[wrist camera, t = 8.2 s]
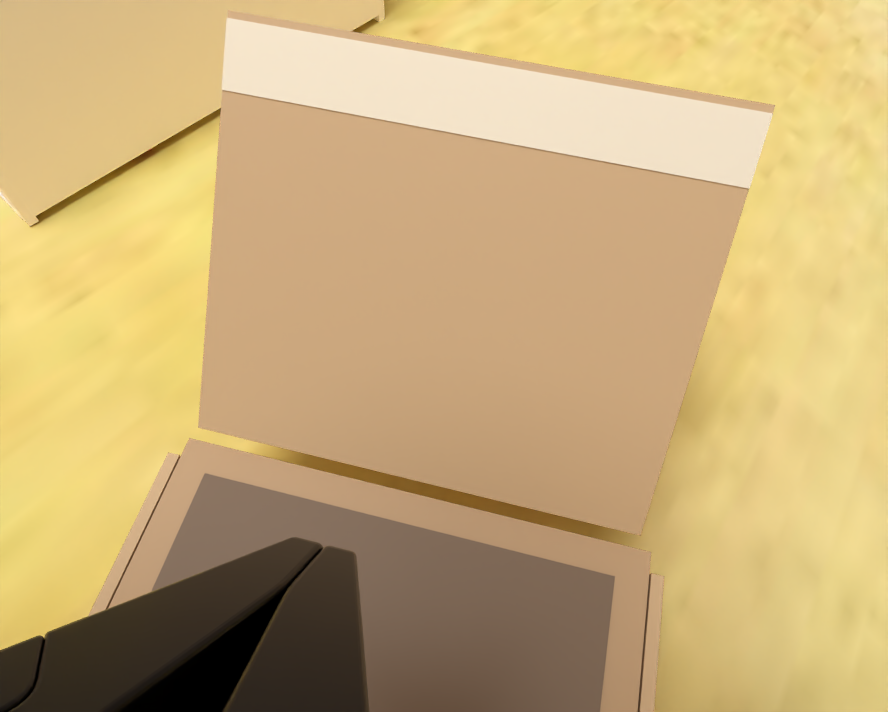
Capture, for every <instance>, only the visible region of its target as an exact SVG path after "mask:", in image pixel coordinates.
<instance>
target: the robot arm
mask: <svg viewBox="0 0 888 712" xmlns="http://www.w3.org/2000/svg"><path fill="white" fill-rule="evenodd" d="M0 712H369V700H368V688H367V676H366V664H365V652H364V640H363V627H362V615H361V603H360V591H359V579H358V567H357V556H356V554H355V553H354V552H353V551H349V550H345V549H342V548H338V547H334V546H325V547H324V548H323V546H322V544H320V543H318V542H314V541H310V540H306V539H303V538H299V537H291V538H288V539H286V540H283V541H280V542H278V543H275V544H273V545H270V546H268V547H265V548H262V549H260V550H257V551H255V552H252V553H250V554H247V555H244V556H242V557H239V558H237V559H234V560H232V561H229V562H226V563H224V564H221V565H219V566H216V567H214V568H211V569H209V570H206V571H203V572H201V573H198V574H196V575H193V576H191V577H188V578H185V579H183V580H180V581H178V582H175V583H173V584H170V585H167V586H165V587H162V588H160V589H157V590H155V591H152V592H149V593H147V594H144V595H142V596H139V597H137V598H134V599H131V600H129V601H126V602H124V603H121V604H119V605H116V606H113V607H111V608H108V609H106V610H103V611H101V612H98V613H95V614H93V615H90V616H88V617H85V618H83V619H80V620H77V621H75V622H72V623H70V624H67V625H64V626H62V627H59V628H57V629H54V630H52V631H49V632H47V633H46V635H45V638H43V637H42V636H40V635H39V636H36V637H33V638H31V639H28V640H26V641H23V642H20V643H18V644H15V645H13V646H10V647H8V648H5V649H2V650H0Z"/></svg>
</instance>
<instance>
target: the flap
mask: <svg viewBox="0 0 888 712" xmlns="http://www.w3.org/2000/svg"><path fill="white" fill-rule="evenodd" d="M774 107H775V105H771V104H765V103H759V102H753V101H748V100H742V99H736V98H730V97H725V96H719V95H713V94H708V93H702V92H696V91H690V90H685V89H679V88H673V87H667V86H662V85H656V84H650V83H644V82H639V81H633V80H627V79H621V78H616V77H610V76H604V75H598V74H593V73H587V72H581V71H575V70H570V69H564V68H558V67H552V66H547V65H541V64H535V63H529V62H524V61H518V60H512V59H507V58H501V57H495V56H489V55H484V54H478V53H472V52H466V51H461V50H455V49H449V48H443V47H438V46H432V45H426V44H420V43H415V42H409V41H403V40H397V39H392V38H386V37H380V36H374V35H369V34H363V33H357V32H351V31H346V30H340V29H334V28H329V27H323V26H317V25H311V24H306V23H300V22H294V21H288V20H283V19H277V18H271V17H265V16H260V15H254V14H248V13H242V12H237V11H231V10H228V15H227V19H226V34H225V48H224V62H223V76H222V100H221V114H220V128H219V142H218V156H217V171H216V185H215V199H214V213H213V227H212V241H211V255H210V269H209V283H208V298H207V312H206V326H205V340H204V354H203V368H202V382H201V396H200V410H199V425H198V428H202V429H206V430H210V431H214V432H219V433H223V434H227V435H231V436H235V437H239V438H243V439H247V440H251V441H255V442H259V443H264V444H268V445H272V446H276V447H280V448H284V449H288V450H292V451H296V452H300V453H304V454H309V455H313V456H317V457H321V458H325V459H329V460H333V461H337V462H341V463H345V464H349V465H354V466H358V467H362V468H366V469H370V470H374V471H378V472H382V473H386V474H390V475H394V476H399V477H403V478H407V479H411V480H415V481H419V482H423V483H427V484H431V485H435V486H439V487H444V488H448V489H452V490H456V491H460V492H464V493H468V494H472V495H476V496H480V497H484V498H489V499H493V500H497V501H501V502H505V503H509V504H513V505H517V506H521V507H525V508H529V509H534V510H538V511H542V512H546V513H550V514H554V515H558V516H562V517H566V518H570V519H574V520H579V521H583V522H587V523H591V524H595V525H599V526H603V527H607V528H611V529H615V530H619V531H624V532H628V533H632V534H636V535H640V536H641V532H642V529H643V526H644V523H645V520H646V516H647V513H648V510H649V507H650V504H651V500H652V497H653V494H654V491H655V488H656V484H657V481H658V478H659V475H660V472H661V468H662V465H663V462H664V459H665V456H666V452H667V449H668V446H669V443H670V440H671V437H672V433H673V430H674V427H675V424H676V421H677V417H678V414H679V411H680V408H681V405H682V401H683V398H684V395H685V392H686V389H687V385H688V382H689V379H690V376H691V373H692V369H693V366H694V363H695V360H696V357H697V353H698V350H699V347H700V344H701V341H702V337H703V334H704V331H705V328H706V325H707V321H708V318H709V315H710V312H711V309H712V305H713V302H714V299H715V296H716V293H717V289H718V286H719V283H720V280H721V277H722V274H723V270H724V267H725V264H726V261H727V258H728V254H729V251H730V248H731V245H732V242H733V238H734V235H735V232H736V229H737V226H738V222H739V219H740V216H741V213H742V210H743V206H744V203H745V200H746V197H747V194H748V190H749V189H750V185H751V182H752V179H753V176H754V173H755V169H756V166H757V163H758V160H759V157H760V153H761V150H762V147H763V144H764V141H765V138H766V134H767V131H768V128H769V125H770V122H771V118H772V115H773V111H774Z"/></svg>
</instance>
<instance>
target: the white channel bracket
mask: <svg viewBox="0 0 888 712" xmlns="http://www.w3.org/2000/svg"><path fill="white" fill-rule="evenodd" d="M228 10H231V11H237V12H242V13H248V14H254V15H260V16H265V17H271V18H277V19H283V20H288V21H294V22H300V23H306V24H311V25H317V26H323V27H329V28H334V29H340V30H346V31H353V30H354V29H356V28H358V27H359V26H361V25H363V24H365V23H366V22H368V21H370V20H371V19H373V18H374V19H375V20H377V21H378V22H380V21H382V20H384V19H385V11H384V0H0V197H1V198H2V199H3V200H4V201H5V202H6V203H7V204H8V205H9V206H10V207H11V208H12V209H13V210H14V211H15V212H16V213H17V214H18V215H19V216H20V217H21V219H22V220H23V221H25V222H26V223H27V224H28V225H29V226H32V225H33V224H35V223H37V222H38V221H39V220H38V219H37V218H36V216H37V215H38V214H40V213H42V212H43V211H45V210H47V209H49V208H50V207H52V206H54V205H55V204H57V203H59V202H60V201H62V200H64V199H66V198H67V197H69V196H71V195H72V194H74V193H76V192H78V191H79V190H81V189H83V188H84V187H86V186H88V185H90V184H91V183H93V182H95V181H96V180H98V179H100V178H101V177H103V176H105V175H107V174H108V173H110V172H112V171H113V170H115V169H117V168H119V167H120V166H122V165H124V164H125V163H127V162H129V161H131V160H132V159H134V158H136V157H137V156H139V155H141V154H142V153H144V152H146V151H148V150H152V149H151V148H153V147H154V146H156V145H158V144H160V143H161V142H163V141H165V140H166V139H168V138H170V137H172V136H173V135H175V134H177V133H178V132H180V131H182V130H183V129H185V128H187V127H189V126H190V125H192V124H194V123H195V122H197V121H199V120H201V119H202V118H204V117H206V116H207V115H209V114H211V113H213V112H214V111H216V110H218V109H219V108H221V100H222V76H223V62H224V48H225V34H226V19H227V15H228Z"/></svg>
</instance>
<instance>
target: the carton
mask: <svg viewBox="0 0 888 712" xmlns="http://www.w3.org/2000/svg"><path fill="white" fill-rule="evenodd" d="M291 537H299V538H303V539H306V540H310V541H314V542H318V543H320V544H322V546H323V548H324V547H325V546H334V547H338V548H342V549H345V550H349V551H353V552H354V553H355V554H356V556H357V567H358V579H359V591H360V603H361V615H362V627H363V640H364V652H365V664H366V676H367V688H368V700H369V712H654V706H655V693H656V679H657V666H658V653H659V639H660V626H661V613H662V599H663V586H664V576H661V575H657V574H653V573H651V574H650V575H649V572H650V561H651V552H649V551H645V550H641V549H637V548H633V547H629V546H625V545H621V544H617V543H613V542H608V541H604V540H600V539H596V538H592V537H588V536H584V535H580V534H576V533H572V532H568V531H564V530H560V529H556V528H552V527H548V526H544V525H540V524H535V523H531V522H527V521H523V520H519V519H515V518H511V517H507V516H503V515H499V514H495V513H491V512H487V511H483V510H479V509H475V508H471V507H467V506H462V505H458V504H454V503H450V502H446V501H442V500H438V499H434V498H430V497H426V496H422V495H418V494H414V493H410V492H406V491H402V490H398V489H394V488H389V487H385V486H381V485H377V484H373V483H369V482H365V481H361V480H357V479H353V478H349V477H345V476H341V475H337V474H333V473H329V472H325V471H321V470H316V469H312V468H308V467H304V466H300V465H296V464H292V463H288V462H284V461H280V460H276V459H272V458H268V457H264V456H260V455H256V454H252V453H248V452H243V451H239V450H235V449H231V448H227V447H223V446H219V445H215V444H211V443H207V442H203V441H199V440H195V439H191V438H189V440H188V442H187V444H186V446H185V449H184V451H183V453H182V455H181V457H180V455H177V454H173V453H169V452H168V454H167V456H166V458H165V461H164V463H163V465H162V467H161V469H160V471H159V473H158V475H157V477H156V479H155V481H154V483H153V485H152V487H151V489H150V491H149V493H148V495H147V497H146V499H145V501H144V503H143V505H142V507H141V510H140V512H139V514H138V516H137V518H136V520H135V522H134V524H133V526H132V528H131V530H130V532H129V534H128V536H127V538H126V540H125V542H124V544H123V546H122V548H121V550H120V552H119V554H118V556H117V559H116V561H115V563H114V565H113V567H112V569H111V571H110V573H109V575H108V577H107V579H106V581H105V583H104V585H103V587H102V589H101V591H100V593H99V595H98V597H97V599H96V601H95V603H94V605H93V608H92V610H91V612H90V614H89V616H90V615H93V614H95V613H98V612H101V611H103V610H106V609H108V608H111V607H113V606H116V605H119V604H121V603H124V602H126V601H129V600H131V599H134V598H137V597H139V596H142V595H144V594H147V593H149V592H152V591H155V590H157V589H160V588H162V587H165V586H167V585H170V584H173V583H175V582H178V581H180V580H183V579H185V578H188V577H191V576H193V575H196V574H198V573H201V572H203V571H206V570H209V569H211V568H214V567H216V566H219V565H221V564H224V563H226V562H229V561H232V560H234V559H237V558H239V557H242V556H244V555H247V554H250V553H252V552H255V551H257V550H260V549H262V548H265V547H268V546H270V545H273V544H275V543H278V542H280V541H283V540H286V539H288V538H291Z"/></svg>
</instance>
